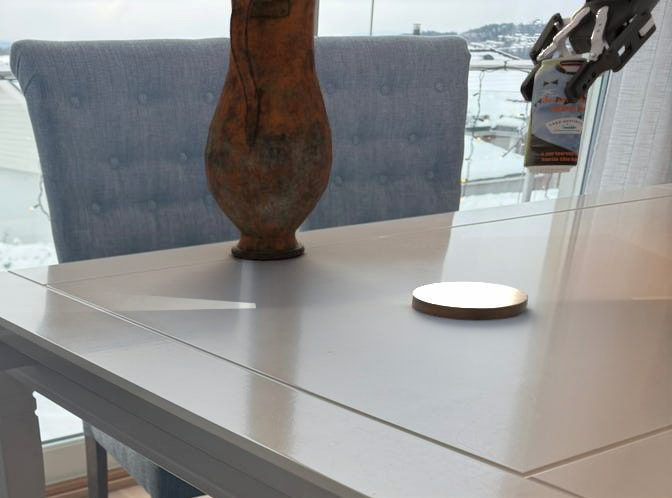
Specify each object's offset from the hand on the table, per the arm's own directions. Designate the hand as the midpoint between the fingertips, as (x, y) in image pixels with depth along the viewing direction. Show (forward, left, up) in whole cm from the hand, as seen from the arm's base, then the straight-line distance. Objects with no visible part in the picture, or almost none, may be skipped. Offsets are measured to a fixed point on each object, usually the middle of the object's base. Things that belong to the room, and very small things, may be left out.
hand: (546, 96), depth 107 cm
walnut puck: (+14, +28, -18) cm, 36 cm away
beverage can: (-2, 0, -8) cm, 9 cm away
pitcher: (+32, -10, -18) cm, 38 cm away
